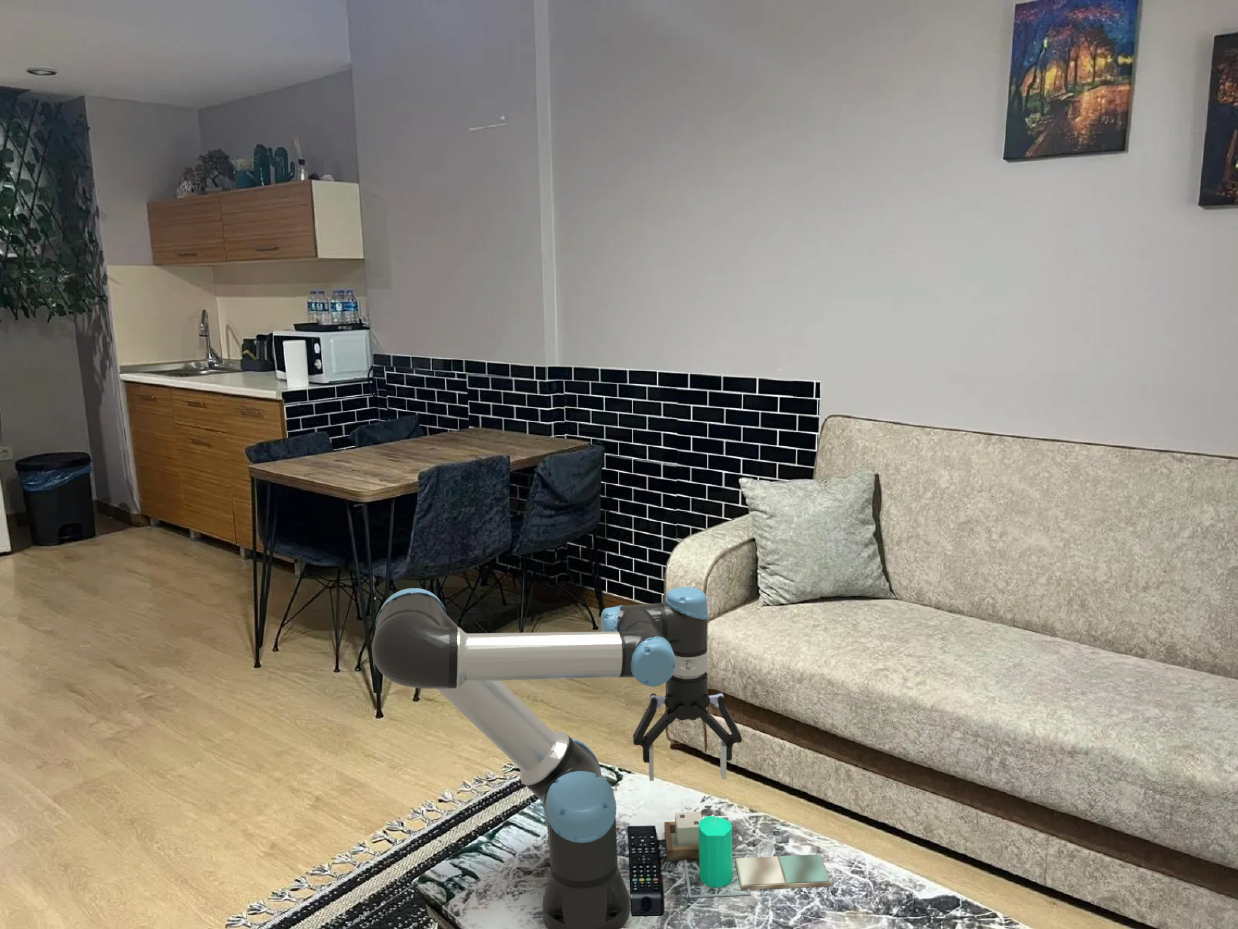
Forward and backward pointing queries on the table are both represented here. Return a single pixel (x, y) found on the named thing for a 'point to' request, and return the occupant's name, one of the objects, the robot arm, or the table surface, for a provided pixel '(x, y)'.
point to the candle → (715, 851)
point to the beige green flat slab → (782, 872)
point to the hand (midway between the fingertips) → (687, 776)
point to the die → (687, 828)
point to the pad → (711, 894)
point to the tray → (678, 851)
